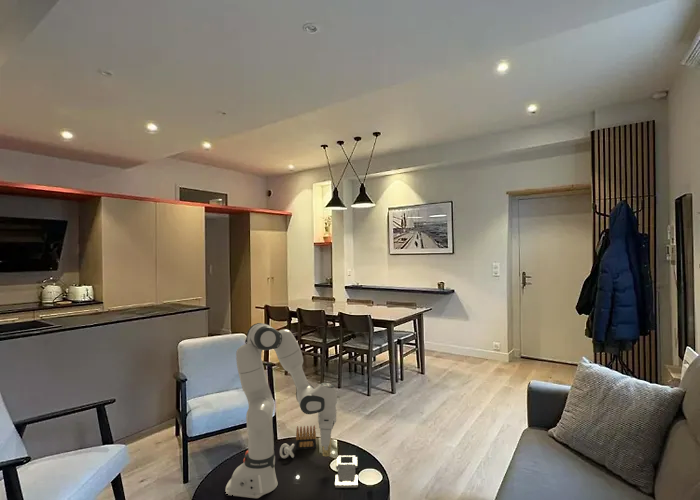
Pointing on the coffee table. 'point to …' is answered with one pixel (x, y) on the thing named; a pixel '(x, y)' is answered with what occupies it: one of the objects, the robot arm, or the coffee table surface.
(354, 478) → the hinge
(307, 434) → the ammunition clip
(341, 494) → the coffee table surface
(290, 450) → the knot
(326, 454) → the hinge pin
